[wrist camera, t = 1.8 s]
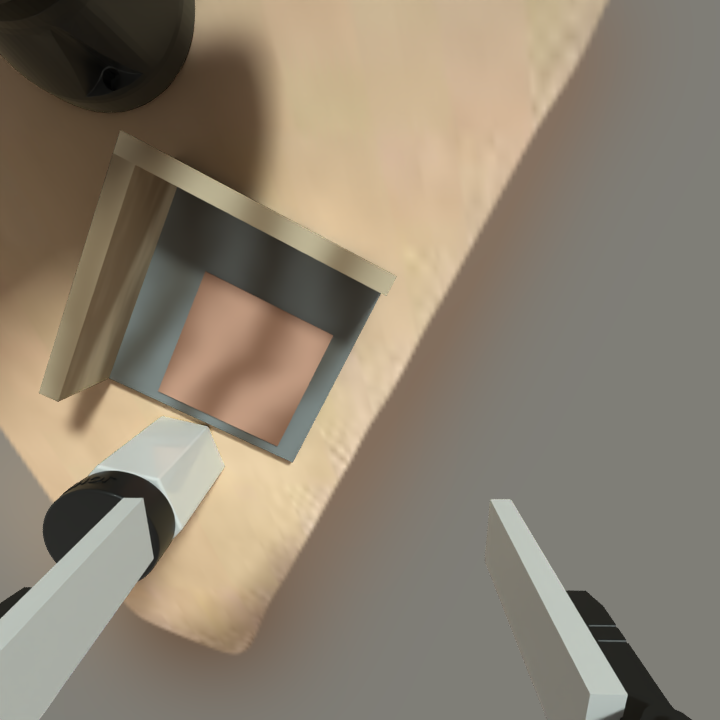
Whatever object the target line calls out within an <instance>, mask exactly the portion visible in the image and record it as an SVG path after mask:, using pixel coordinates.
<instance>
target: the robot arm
mask: <svg viewBox="0 0 720 720" xmlns="http://www.w3.org/2000/svg"><path fill="white" fill-rule="evenodd" d="M194 19H195V0H0V54H1V55H2V56H3V57H4V58H5V59H6V60H7V61H8V62H9V63H10V64H11V65H12V66H13V67H14V68H15V69H16V70H17V71H18V72H19V73H21V74H22V75H23V76H24V77H26V78H27V79H28V80H30V81H31V82H32V83H34V84H35V85H37V86H38V87H40V88H42V89H44V90H45V91H47V92H49V93H51V94H53V95H55V96H56V97H58V98H60V99H62V100H64V101H66V102H68V103H70V104H73V105H75V106H78V107H80V108H84V109H87V110H91V111H97V112H122V111H127V110H131V109H134V108H137V107H139V106H142V105H144V104H146V103H148V102H149V101H151V100H153V99H154V98H155V97H157V96H158V95H159V94H160V93H162V92H163V91H164V90H165V89H166V88H167V87H168V86H169V85H170V83H171V82H172V81H173V79H174V78H175V77H176V75H177V74H178V72H179V70H180V69H181V67H182V65H183V63H184V61H185V58H186V56H187V53H188V50H189V47H190V44H191V39H192V35H193V29H194ZM153 559H154V557H153V551H152V545H151V539H150V534H149V528H148V522H147V516H146V511H145V505H144V499H143V498H123V499H122V500H121V501H120V502H119V503H118V504H117V505H116V506H115V507H114V508H113V509H112V510H111V511H110V512H109V513H108V514H107V515H106V516H105V517H104V518H103V519H102V520H100V521H99V522H98V523H97V524H96V525H95V526H94V527H93V528H92V529H91V530H90V531H89V532H88V533H87V534H86V535H85V536H84V537H83V538H82V539H81V540H80V541H79V542H78V543H77V544H76V545H75V546H74V547H73V548H72V549H71V550H70V551H69V552H68V553H67V554H66V555H65V556H64V557H63V558H62V559H61V560H60V561H59V562H58V563H57V564H56V565H55V566H54V567H53V568H52V569H51V570H50V571H49V572H48V573H47V574H46V575H45V576H44V577H43V578H42V579H41V580H39V581H38V582H37V583H36V584H35V585H34V586H33V587H31V588H30V587H28V588H27V587H26V588H25V587H24V588H23V589H21V590H19V591H18V592H16V593H15V594H14V595H12V596H10V597H9V598H7V599H6V600H4V601H3V602H1V603H0V720H39V719H40V718H41V717H42V715H43V714H44V712H45V711H46V710H47V708H48V707H49V705H50V704H51V702H52V701H53V700H54V698H55V697H56V695H57V694H58V693H59V691H60V690H61V688H62V687H63V686H64V684H65V683H66V681H67V680H68V678H69V677H70V676H71V674H72V673H73V672H74V670H75V669H76V667H77V666H78V664H79V663H80V662H81V660H82V659H83V657H84V656H85V655H86V653H87V652H88V650H89V649H90V647H91V646H92V644H93V643H94V642H95V641H96V639H97V638H98V636H99V635H100V633H101V632H102V631H103V629H104V628H105V626H106V625H107V624H108V622H109V621H110V619H111V618H112V617H113V615H114V614H115V612H116V611H117V610H118V608H119V607H120V605H121V604H122V603H123V601H124V600H125V598H126V597H127V596H128V594H129V593H130V591H131V590H132V588H133V587H134V586H135V584H136V583H137V581H138V580H139V579H140V577H141V576H142V574H143V573H144V572H145V570H146V569H147V567H148V566H149V565H150V563H151V562H152V560H153ZM485 563H486V565H487V568H488V571H489V573H490V576H491V578H492V580H493V583H494V586H495V588H496V591H497V594H498V596H499V599H500V601H501V604H502V606H503V609H504V612H505V614H506V616H507V619H508V622H509V624H510V627H511V629H512V632H513V635H514V637H515V640H516V642H517V645H518V647H519V650H520V652H521V655H522V658H523V660H524V663H525V665H526V668H527V670H528V673H529V675H530V678H531V680H532V683H533V686H534V688H535V691H536V693H537V696H538V698H539V701H540V703H541V706H542V709H543V711H544V714H545V716H546V719H547V720H691V719H690V718H689V717H687V716H686V715H685V714H683V713H681V712H679V711H677V710H675V709H674V708H673V707H672V706H671V705H670V703H669V702H668V701H667V699H666V698H665V696H664V695H663V693H662V692H661V690H660V689H659V687H658V686H657V684H656V683H655V682H654V680H653V679H652V677H651V676H650V674H649V673H648V671H647V670H646V668H645V667H644V665H643V664H642V662H641V661H640V659H639V658H638V657H637V655H636V654H635V652H634V651H633V649H632V648H631V646H630V645H629V644H628V643H627V642H626V639H625V637H624V636H623V635H622V633H621V632H620V630H619V629H618V628H616V624H615V623H614V621H613V620H612V618H611V617H610V616H609V614H608V612H607V611H606V610H605V608H604V607H603V606H602V605H601V604H600V603H599V602H598V601H597V600H595V599H594V598H593V597H592V596H591V595H590V594H589V593H588V592H586V591H565V589H564V588H563V586H562V584H561V582H560V581H559V579H558V577H557V576H556V574H555V572H554V571H553V569H552V567H551V566H550V564H549V562H548V561H547V559H546V557H545V556H544V554H543V552H542V551H541V549H540V547H539V546H538V544H537V542H536V541H535V539H534V537H533V536H532V534H531V532H530V531H529V529H528V527H527V526H526V524H525V522H524V521H523V519H522V517H521V516H520V514H519V512H518V511H517V509H516V507H515V506H514V504H513V502H512V501H511V499H504V500H503V499H491V500H490V507H489V519H488V530H487V541H486V552H485Z"/></svg>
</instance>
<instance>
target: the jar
mask: <svg viewBox="0 0 720 720" xmlns="http://www.w3.org/2000/svg"><path fill="white" fill-rule="evenodd" d="M224 467H225V465H224V462H223V460H222V458H221V455H220V453H219V451H218V448H217V446H216V444H215V441H214V439H213V437H212V434H211V432H210V429H209V427H208V426H205V425H200V424H196V423H191V422H187V421H182V420H178V419H174V418H169V417H165V416H161V417H160V418H158V419H157V420H156V421H154V422H153V423H152V424H150V425H149V426H148V427H147V428H145V429H144V430H143V431H141V432H140V433H139V434H137V435H136V436H135V437H134V438H132V439H131V440H130V441H128V442H127V443H126V444H124V445H123V446H122V447H120V448H119V449H118V450H117V451H115V452H114V453H113V454H111V455H110V456H109V457H107V458H106V459H105V460H103V461H102V462H101V463H100V464H98V465H97V466H96V467H95V468H94V470H93V471H92V472H91V473H90V474H89V475H88V477H86V478H84V479H83V480H81V481H80V482H78V483H76V484H75V485H74V486H72V487H71V488H69V489H68V490H67V491H66V492H64V493H63V495H61V496H60V497H59V499H57V500H56V501H55V502H54V503H53V504H52V505H51V507H50V508H49V510H48V511H47V513H46V516H45V519H44V524H43V537H44V542H45V545H46V547H47V550H48V552H49V553H50V555H51V557H52V558H53V559H54V561H55V562H56V563H58V562H59V561H60V560H61V559H62V558H63V557H64V556H65V555H66V554H67V553H68V552H69V551H70V550H71V549H72V548H73V547H74V546H75V545H76V544H77V543H78V542H79V541H80V540H81V539H82V538H83V537H84V536H85V535H86V534H87V533H88V532H89V531H90V530H91V529H92V528H93V527H94V526H95V525H96V524H97V523H98V522H99V521H100V520H102V519H103V518H104V517H105V516H106V515H107V514H108V513H109V512H110V511H111V510H112V509H113V508H114V507H115V506H116V505H117V504H118V503H119V502H120V501H121V500H122V499H123V498H143V499H144V505H145V511H146V516H147V522H148V528H149V534H150V539H151V545H152V551H153V557H154V559H153V560H152V562H151V563H150V565H149V566H148V567H147V569H146V570H145V572H144V573H143V574H142V576H141V577H140V579H139V580H138V581H140V580H141V579H143V578H144V577H145V576H147V575H148V574H149V573H150V572H151V570H152V569H153V568H154V566H155V565H156V564H157V562H158V561H159V559H160V558H161V556H162V555H163V553H164V552H165V551H166V549H167V548H168V546H169V545H170V543H171V541H172V539H173V538H174V537H175V536H176V535H177V534H178V533H179V532H180V531H181V530H182V529H183V528H184V526H185V525H186V523H187V522H188V520H189V519H190V517H191V516H192V514H193V513H194V512H195V510H196V509H197V507H198V506H199V504H200V503H201V501H202V500H203V498H204V497H205V495H206V494H207V492H208V491H209V490H210V488H211V487H212V485H213V484H214V482H215V481H216V479H217V478H218V476H219V475H220V473H221V472H222V470H223V469H224ZM138 581H137V582H138Z"/></svg>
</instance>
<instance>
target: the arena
mask: <svg viewBox="0 0 720 720" xmlns="http://www.w3.org/2000/svg"><path fill="white" fill-rule="evenodd" d="M396 277H397V276H395V275H393V274H391V273H390V272H388V271H386V270H384V269H382V268H380V267H378V266H376V265H375V264H373V263H371V262H369V261H367V260H365V259H363V258H361V257H359V256H358V255H356V254H354V253H352V252H350V251H348V250H346V249H344V248H343V247H341V246H339V245H337V244H335V243H333V242H331V241H329V240H327V239H326V238H324V237H322V236H320V235H318V234H316V233H314V232H312V231H310V230H309V229H307V228H305V227H303V226H301V225H299V224H297V223H295V222H294V221H292V220H290V219H288V218H286V217H284V216H282V215H280V214H278V213H277V212H275V211H273V210H271V209H269V208H267V207H265V206H263V205H262V204H260V203H258V202H256V201H254V200H252V199H250V198H248V197H246V196H245V195H243V194H241V193H239V192H237V191H235V190H233V189H231V188H229V187H228V186H226V185H224V184H222V183H220V182H218V181H216V180H214V179H213V178H211V177H209V176H207V175H205V174H203V173H201V172H199V171H197V170H196V169H194V168H192V167H190V166H188V165H186V164H184V163H182V162H181V161H179V160H177V159H175V158H173V157H171V156H169V155H167V154H165V153H163V152H162V151H160V150H158V149H156V148H154V147H152V146H150V145H148V144H146V143H144V142H142V141H141V140H139V139H137V138H135V137H133V136H131V135H129V134H127V133H125V132H123V131H121V130H120V132H119V136H118V139H117V142H116V145H115V149H114V152H113V155H112V158H111V161H110V165H109V168H108V171H107V174H106V178H105V181H104V184H103V187H102V191H101V194H100V197H99V200H98V203H97V207H96V210H95V213H94V216H93V220H92V223H91V226H90V229H89V233H88V236H87V239H86V242H85V245H84V249H83V252H82V255H81V258H80V262H79V265H78V268H77V271H76V275H75V278H74V281H73V284H72V287H71V291H70V294H69V297H68V300H67V304H66V307H65V310H64V313H63V317H62V320H61V323H60V326H59V329H58V333H57V336H56V339H55V342H54V346H53V349H52V352H51V355H50V359H49V362H48V365H47V368H46V371H45V375H44V378H43V381H42V384H41V388H40V391H39V394H42V395H44V396H46V397H48V398H51V399H53V400H55V401H57V402H59V401H61V400H63V399H65V398H67V397H69V396H71V395H74V394H76V393H78V392H80V391H82V390H84V389H87V388H89V387H91V386H93V385H95V384H97V383H100V382H102V381H104V380H106V379H108V378H110V379H112V380H114V381H116V382H119V383H121V384H123V385H125V386H127V387H129V388H132V389H134V390H136V391H138V392H140V393H143V394H145V395H147V396H149V397H151V398H153V399H156V400H158V401H160V402H162V403H164V404H166V405H169V406H171V407H173V408H175V409H177V410H179V411H182V412H184V413H186V414H188V415H190V416H193V417H195V418H197V419H199V420H201V421H203V422H206V423H208V424H210V425H212V426H214V427H216V428H219V429H221V430H223V431H225V432H227V433H229V434H232V435H234V436H236V437H238V438H240V439H243V440H245V441H247V442H249V443H251V444H253V445H256V446H258V447H260V448H262V449H264V450H266V451H269V452H271V453H273V454H275V455H277V456H279V457H282V458H284V459H286V460H288V461H290V462H293V461H294V459H295V457H296V455H297V453H298V451H299V450H300V448H301V446H302V444H303V442H304V440H305V438H306V436H307V434H308V432H309V430H310V428H311V427H312V425H313V423H314V421H315V419H316V417H317V415H318V413H319V411H320V409H321V407H322V405H323V403H324V402H325V400H326V398H327V396H328V394H329V392H330V390H331V388H332V386H333V384H334V382H335V380H336V379H337V377H338V375H339V373H340V371H341V369H342V367H343V365H344V363H345V361H346V359H347V357H348V356H349V354H350V352H351V350H352V348H353V346H354V344H355V342H356V340H357V338H358V336H359V334H360V333H361V331H362V329H363V327H364V325H365V323H366V321H367V319H368V317H369V315H370V313H371V311H372V310H373V308H374V306H375V304H376V302H377V300H378V298H379V296H380V294H383V295H385V296H387V294H388V292H389V290H390V288H391V287H392V285H393V283H394V281H395V279H396Z"/></svg>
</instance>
